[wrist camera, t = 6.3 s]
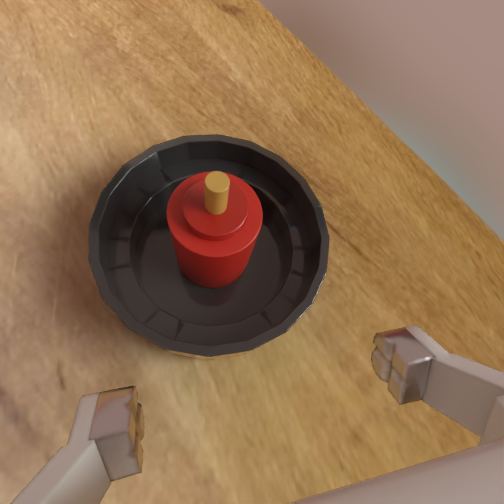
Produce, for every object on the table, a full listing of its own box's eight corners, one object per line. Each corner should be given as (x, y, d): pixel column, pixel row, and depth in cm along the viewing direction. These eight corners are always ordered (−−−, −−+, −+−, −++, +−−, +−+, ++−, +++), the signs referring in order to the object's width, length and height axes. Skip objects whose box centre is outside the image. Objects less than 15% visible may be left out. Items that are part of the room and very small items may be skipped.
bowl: (66, 294, 24) (32, 275, 19) (179, 145, 29) (174, 101, 25) (255, 399, 23) (267, 406, 18) (335, 225, 28) (360, 196, 24)
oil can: (162, 266, 24) (135, 198, 15) (200, 209, 26) (196, 117, 17) (227, 301, 24) (241, 254, 15) (260, 241, 26) (291, 166, 17)
